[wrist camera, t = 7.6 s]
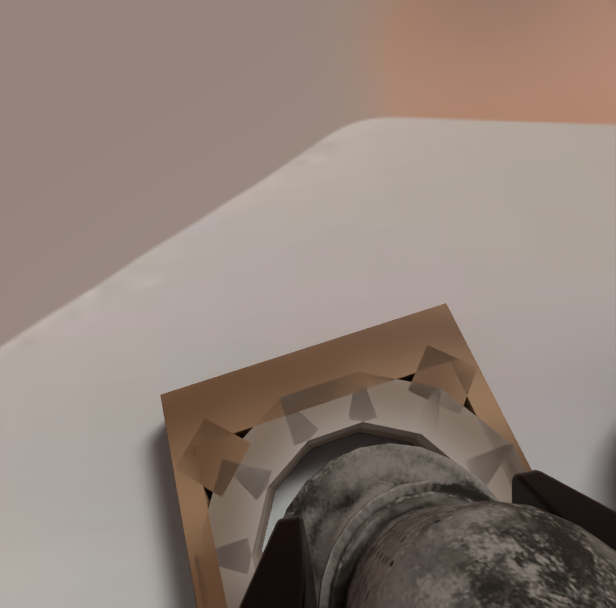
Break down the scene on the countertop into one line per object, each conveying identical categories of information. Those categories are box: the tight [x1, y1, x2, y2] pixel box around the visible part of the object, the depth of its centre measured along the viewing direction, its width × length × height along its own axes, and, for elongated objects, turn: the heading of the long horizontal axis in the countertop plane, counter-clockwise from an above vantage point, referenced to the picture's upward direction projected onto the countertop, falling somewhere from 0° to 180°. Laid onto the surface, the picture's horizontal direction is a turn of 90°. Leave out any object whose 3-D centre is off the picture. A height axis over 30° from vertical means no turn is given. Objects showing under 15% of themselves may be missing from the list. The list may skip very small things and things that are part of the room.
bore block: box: [161, 303, 531, 608], centre depth 17 cm, size 16×13×2 cm
